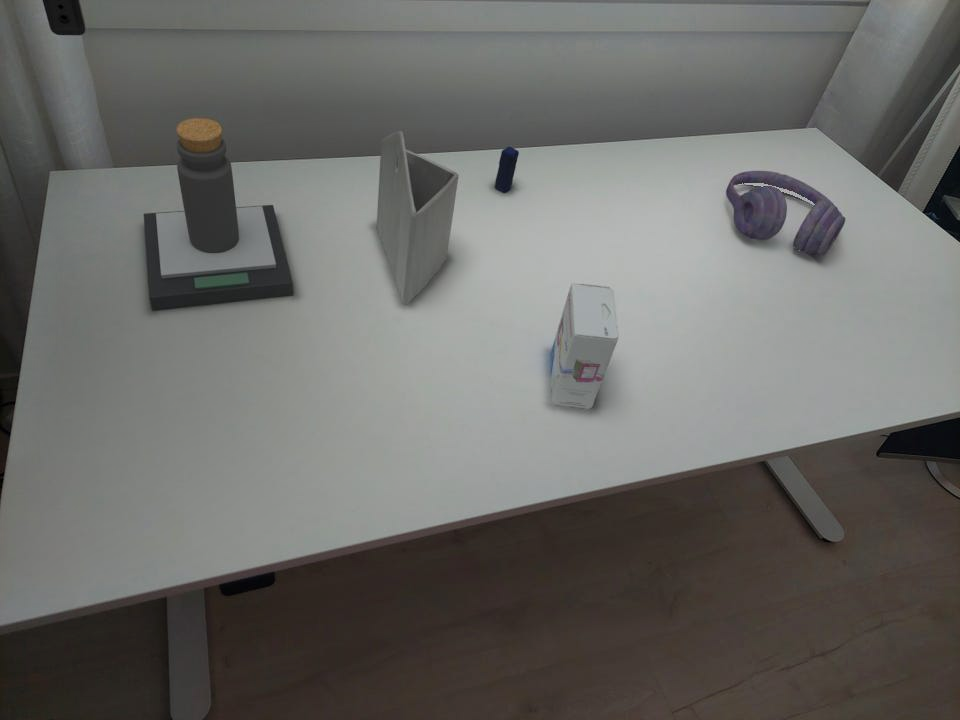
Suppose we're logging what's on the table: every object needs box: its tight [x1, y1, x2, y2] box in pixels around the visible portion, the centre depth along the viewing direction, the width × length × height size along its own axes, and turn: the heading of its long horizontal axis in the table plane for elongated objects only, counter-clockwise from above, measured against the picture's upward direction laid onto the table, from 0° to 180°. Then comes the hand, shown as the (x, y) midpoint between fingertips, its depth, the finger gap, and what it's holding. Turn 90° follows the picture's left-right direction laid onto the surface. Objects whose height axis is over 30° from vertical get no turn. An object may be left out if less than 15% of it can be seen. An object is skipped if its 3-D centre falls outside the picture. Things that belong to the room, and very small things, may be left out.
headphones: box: [725, 170, 846, 256], centre depth 115 cm, size 18×8×20 cm
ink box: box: [549, 282, 619, 410], centre depth 81 cm, size 9×5×12 cm, turn 178°
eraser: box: [494, 146, 520, 194], centre depth 109 cm, size 2×2×7 cm
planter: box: [375, 130, 460, 306], centre depth 89 cm, size 16×8×19 cm, turn 18°
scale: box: [143, 204, 294, 312], centre depth 89 cm, size 16×16×3 cm
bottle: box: [175, 117, 239, 253], centre depth 83 cm, size 6×6×15 cm
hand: (70, 7), depth 54 cm, fingers open, 8 cm apart
